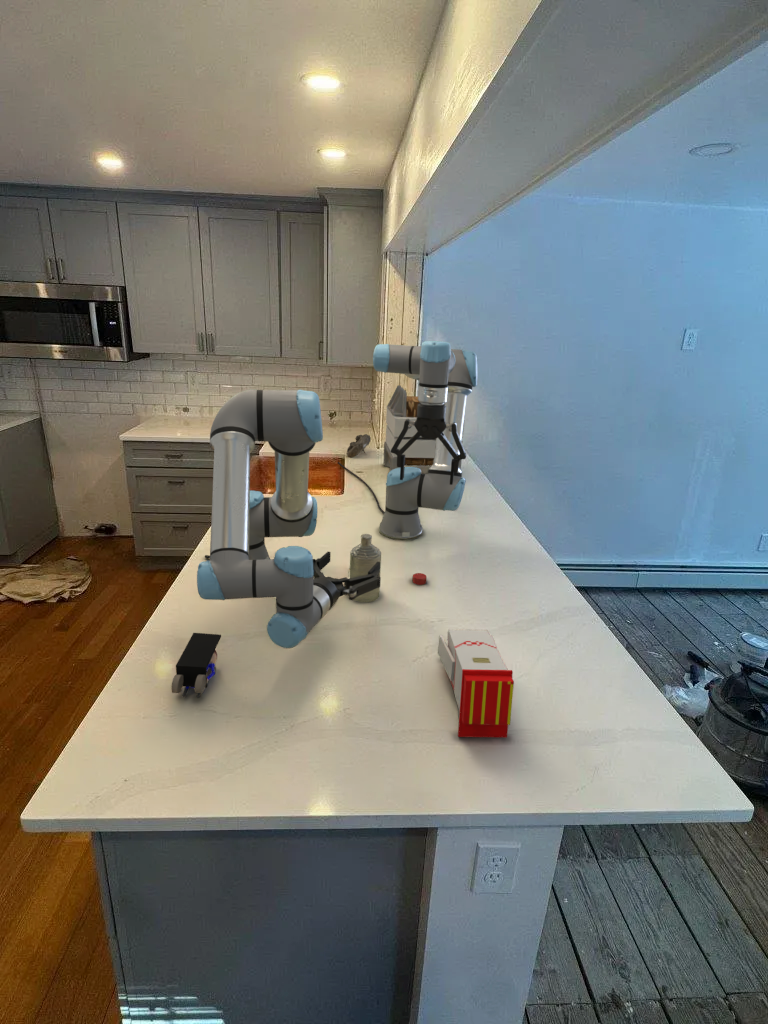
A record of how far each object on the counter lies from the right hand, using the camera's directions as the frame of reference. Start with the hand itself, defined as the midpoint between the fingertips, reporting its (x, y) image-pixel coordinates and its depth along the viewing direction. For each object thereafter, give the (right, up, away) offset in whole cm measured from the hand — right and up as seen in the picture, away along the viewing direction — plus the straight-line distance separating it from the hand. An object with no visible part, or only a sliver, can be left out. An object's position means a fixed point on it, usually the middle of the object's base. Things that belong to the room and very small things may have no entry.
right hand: (426, 481), depth 155 cm
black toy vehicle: (-50, -44, -37) cm, 76 cm away
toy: (+6, -46, -37) cm, 59 cm away
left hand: (-19, -21, -11) cm, 31 cm away
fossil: (-25, +23, +151) cm, 155 cm away
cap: (-1, -27, +10) cm, 29 cm away
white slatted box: (+6, +10, +120) cm, 120 cm away
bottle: (-17, -31, +1) cm, 36 cm away
